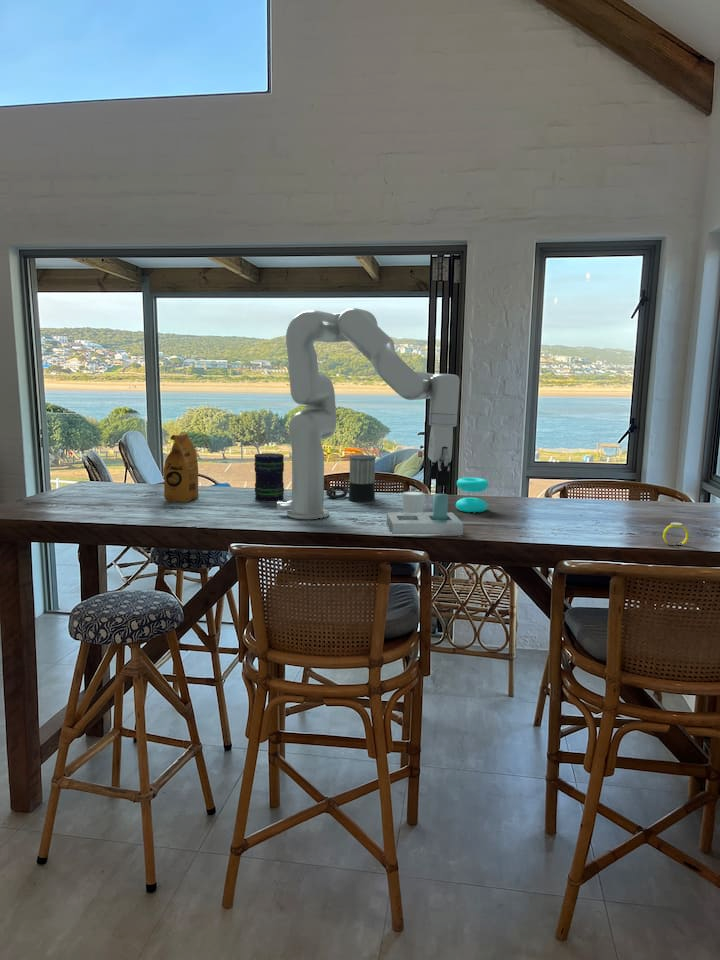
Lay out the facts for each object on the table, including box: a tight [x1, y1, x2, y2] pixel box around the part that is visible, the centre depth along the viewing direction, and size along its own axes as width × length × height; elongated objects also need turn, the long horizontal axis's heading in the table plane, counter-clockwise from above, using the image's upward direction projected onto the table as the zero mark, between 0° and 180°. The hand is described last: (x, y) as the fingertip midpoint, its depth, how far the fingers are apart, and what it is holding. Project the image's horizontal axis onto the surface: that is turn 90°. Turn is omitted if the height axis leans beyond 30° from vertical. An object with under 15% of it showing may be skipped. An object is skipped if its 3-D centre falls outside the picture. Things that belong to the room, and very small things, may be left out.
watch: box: [662, 522, 690, 545], centre depth 174 cm, size 6×3×6 cm, turn 82°
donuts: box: [455, 476, 489, 514], centre depth 214 cm, size 10×10×10 cm
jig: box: [386, 511, 464, 536], centre depth 186 cm, size 19×14×4 cm
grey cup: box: [402, 490, 426, 512], centre depth 204 cm, size 7×7×7 cm
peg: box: [432, 493, 449, 520], centre depth 186 cm, size 4×4×10 cm
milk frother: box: [325, 454, 377, 503], centre depth 228 cm, size 14×16×15 cm
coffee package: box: [163, 431, 200, 503], centre depth 222 cm, size 10×12×22 cm
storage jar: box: [254, 452, 285, 503], centre depth 226 cm, size 10×10×15 cm
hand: (439, 482), depth 185 cm, fingers open, 9 cm apart
